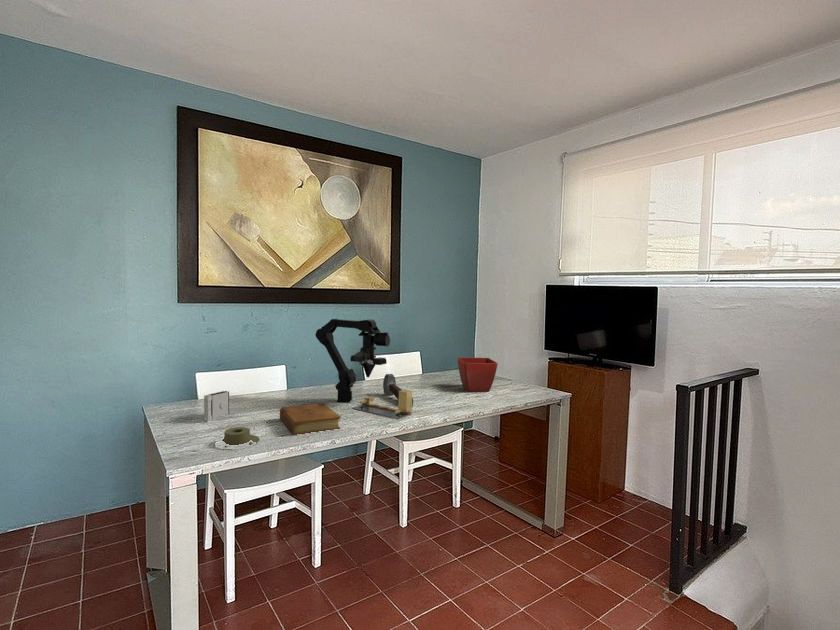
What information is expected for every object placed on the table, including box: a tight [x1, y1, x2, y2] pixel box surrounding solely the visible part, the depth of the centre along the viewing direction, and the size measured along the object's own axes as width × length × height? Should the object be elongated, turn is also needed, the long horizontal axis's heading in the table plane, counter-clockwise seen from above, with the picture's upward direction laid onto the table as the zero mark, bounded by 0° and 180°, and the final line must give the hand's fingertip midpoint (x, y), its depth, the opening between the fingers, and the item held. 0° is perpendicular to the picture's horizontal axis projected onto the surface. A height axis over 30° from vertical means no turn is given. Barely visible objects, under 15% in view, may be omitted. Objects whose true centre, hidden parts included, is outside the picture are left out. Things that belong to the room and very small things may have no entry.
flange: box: [223, 426, 260, 445], centre depth 159 cm, size 5×15×15 cm
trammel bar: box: [359, 395, 412, 416], centre depth 205 cm, size 27×8×4 cm, turn 56°
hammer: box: [382, 373, 414, 407], centre depth 225 cm, size 5×11×30 cm
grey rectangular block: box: [203, 390, 230, 421], centre depth 188 cm, size 14×5×10 cm, turn 164°
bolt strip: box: [352, 404, 409, 420], centre depth 203 cm, size 27×7×1 cm, turn 56°
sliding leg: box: [395, 389, 413, 415], centre depth 198 cm, size 4×9×10 cm, turn 146°
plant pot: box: [457, 357, 499, 392], centre depth 254 cm, size 19×19×17 cm
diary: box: [279, 402, 341, 436], centre depth 182 cm, size 23×19×6 cm
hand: (367, 377), depth 217 cm, fingers closed
